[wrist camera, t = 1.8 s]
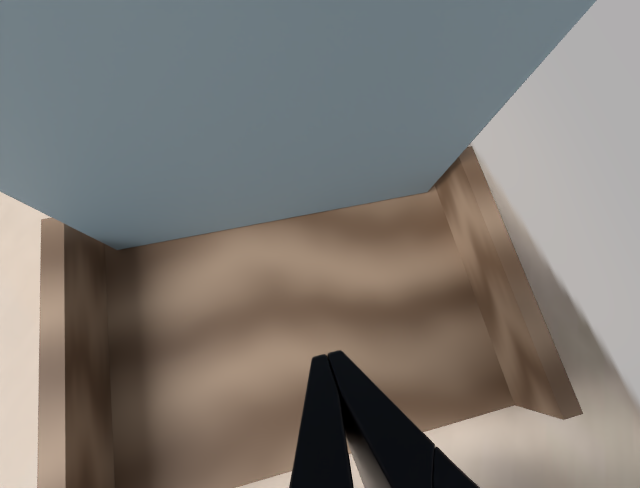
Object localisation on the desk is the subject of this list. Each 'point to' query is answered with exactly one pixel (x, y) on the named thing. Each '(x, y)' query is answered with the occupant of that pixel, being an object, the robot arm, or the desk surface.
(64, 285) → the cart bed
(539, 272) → the desk surface
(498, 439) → the desk surface
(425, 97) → the panel
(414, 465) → the robot arm
